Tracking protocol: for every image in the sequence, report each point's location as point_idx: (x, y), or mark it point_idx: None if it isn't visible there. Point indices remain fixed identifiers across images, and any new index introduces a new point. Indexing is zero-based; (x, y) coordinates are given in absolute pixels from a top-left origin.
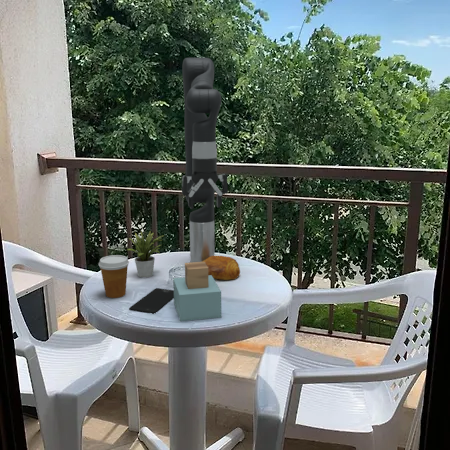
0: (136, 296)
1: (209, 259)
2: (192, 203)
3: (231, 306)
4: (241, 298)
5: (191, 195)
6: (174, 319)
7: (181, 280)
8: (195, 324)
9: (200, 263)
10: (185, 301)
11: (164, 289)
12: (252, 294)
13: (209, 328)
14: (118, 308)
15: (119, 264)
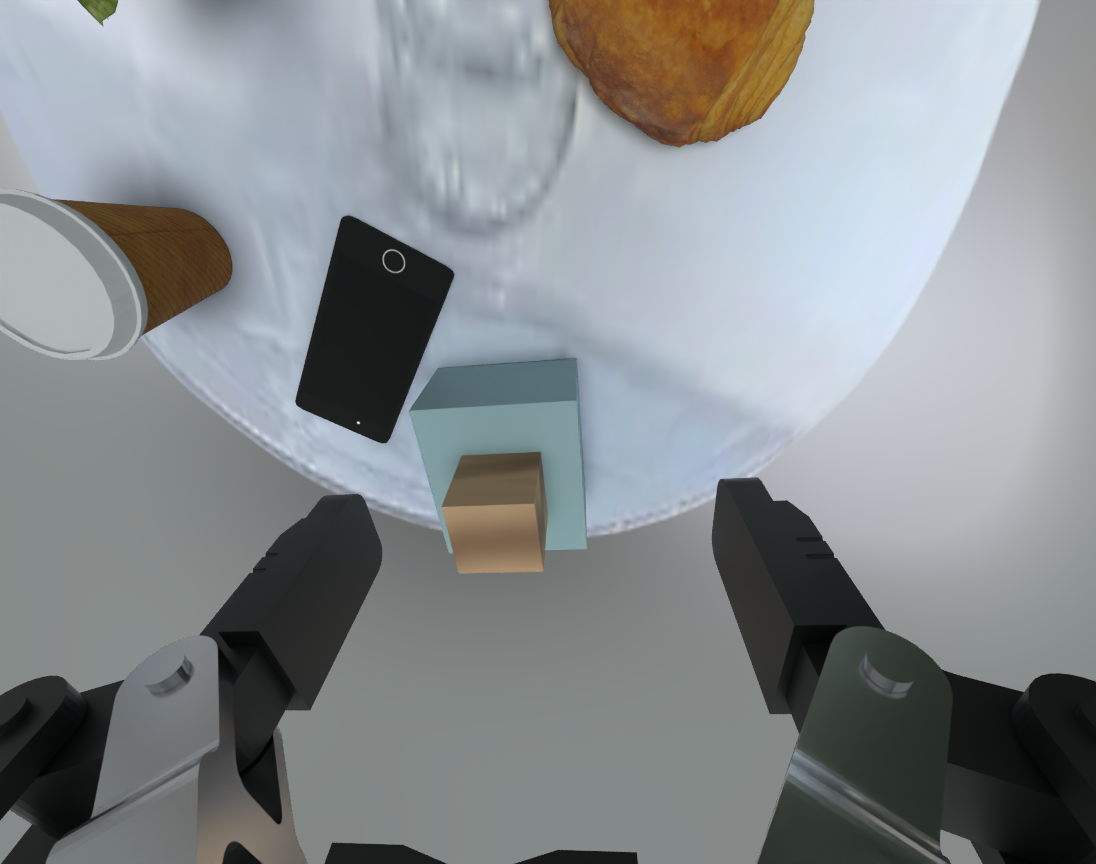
0: (284, 287)
1: None
2: (343, 619)
3: (633, 426)
4: (688, 367)
5: (261, 756)
6: None
7: (445, 439)
8: None
9: (513, 523)
10: None
11: (383, 242)
12: (744, 335)
13: None
14: (259, 387)
15: (110, 350)
